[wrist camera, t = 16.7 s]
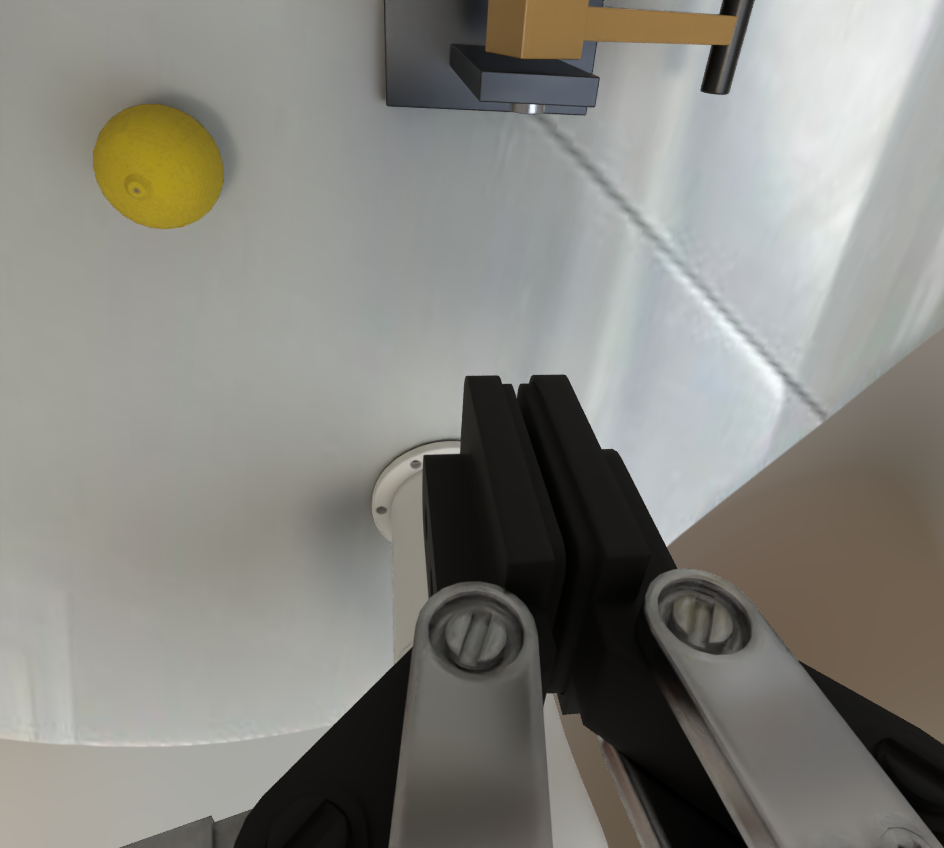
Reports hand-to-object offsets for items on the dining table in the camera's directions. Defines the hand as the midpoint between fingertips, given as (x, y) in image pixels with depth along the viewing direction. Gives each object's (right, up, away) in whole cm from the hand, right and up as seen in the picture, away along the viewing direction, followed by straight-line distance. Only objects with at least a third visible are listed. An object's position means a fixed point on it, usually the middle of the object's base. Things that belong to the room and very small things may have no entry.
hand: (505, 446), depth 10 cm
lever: (+6, +17, +15) cm, 23 cm away
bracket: (0, +22, +20) cm, 30 cm away
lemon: (-16, +16, +23) cm, 32 cm away
